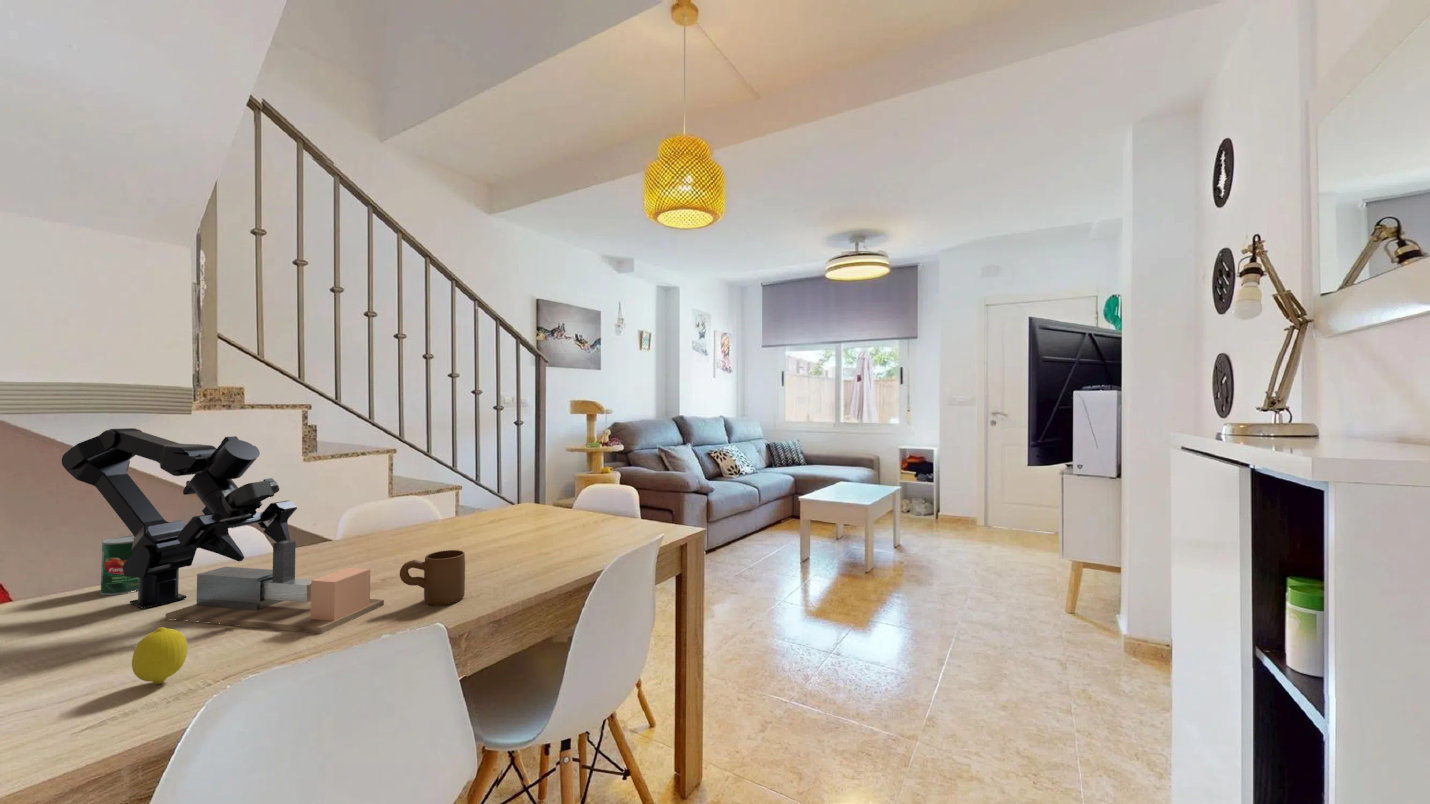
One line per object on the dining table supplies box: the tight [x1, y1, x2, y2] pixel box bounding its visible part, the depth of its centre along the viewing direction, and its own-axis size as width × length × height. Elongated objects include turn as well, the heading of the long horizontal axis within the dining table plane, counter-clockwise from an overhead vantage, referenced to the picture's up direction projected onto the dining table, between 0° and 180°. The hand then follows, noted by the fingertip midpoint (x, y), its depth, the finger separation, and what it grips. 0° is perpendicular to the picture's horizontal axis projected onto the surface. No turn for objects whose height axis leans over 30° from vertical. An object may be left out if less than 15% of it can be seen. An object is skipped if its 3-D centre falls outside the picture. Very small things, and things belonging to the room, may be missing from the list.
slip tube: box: [260, 540, 314, 602], centre depth 105 cm, size 23×3×11 cm, turn 80°
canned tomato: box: [99, 534, 138, 596], centre depth 116 cm, size 8×8×11 cm
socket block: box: [311, 567, 371, 621], centre depth 101 cm, size 5×8×7 cm, turn 170°
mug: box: [399, 549, 466, 606], centre depth 110 cm, size 12×8×9 cm, turn 128°
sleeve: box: [195, 566, 282, 611], centre depth 105 cm, size 14×5×6 cm, turn 80°
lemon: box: [131, 626, 188, 685], centre depth 77 cm, size 6×6×8 cm
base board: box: [164, 598, 385, 634], centre depth 104 cm, size 34×14×1 cm, turn 80°
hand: (266, 553), depth 104 cm, fingers open, 9 cm apart
